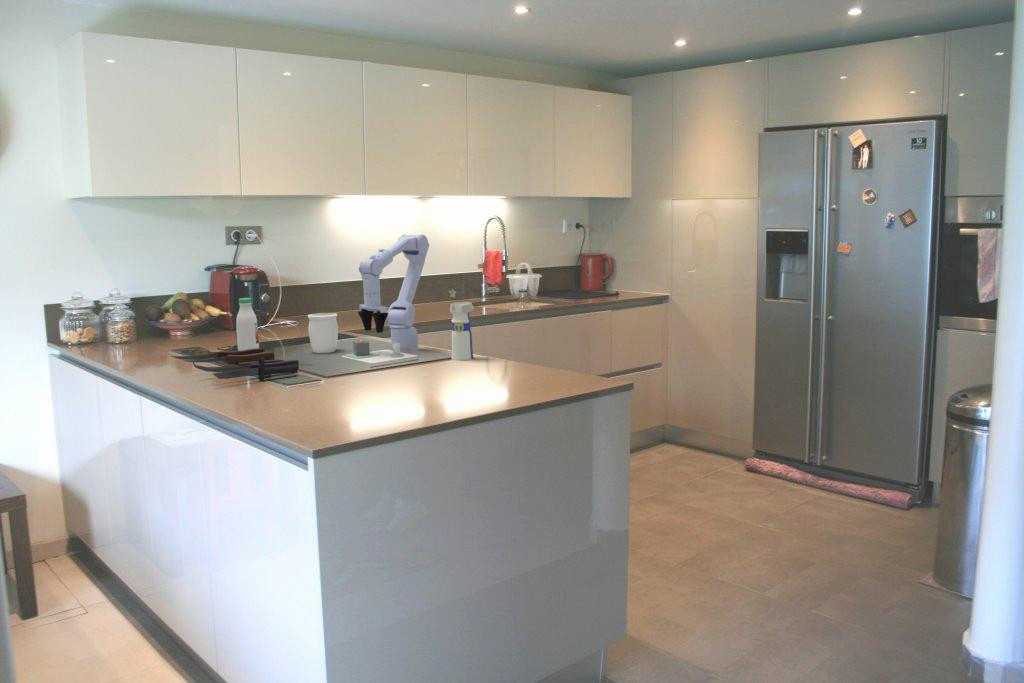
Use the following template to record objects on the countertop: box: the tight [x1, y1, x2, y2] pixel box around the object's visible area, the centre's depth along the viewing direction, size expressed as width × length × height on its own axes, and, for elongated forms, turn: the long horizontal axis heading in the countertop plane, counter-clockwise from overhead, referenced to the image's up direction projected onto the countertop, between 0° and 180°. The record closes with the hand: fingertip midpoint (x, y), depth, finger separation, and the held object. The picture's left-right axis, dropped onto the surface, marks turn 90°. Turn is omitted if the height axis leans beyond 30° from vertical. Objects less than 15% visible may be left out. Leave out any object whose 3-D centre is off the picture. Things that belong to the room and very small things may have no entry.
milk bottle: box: [235, 297, 260, 351], centre depth 315 cm, size 8×8×20 cm
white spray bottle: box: [448, 288, 475, 361], centre depth 289 cm, size 8×9×25 cm
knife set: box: [170, 347, 300, 382], centre depth 271 cm, size 35×33×8 cm
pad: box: [343, 352, 380, 359], centre depth 291 cm, size 9×9×1 cm
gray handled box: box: [352, 339, 371, 356], centre depth 291 cm, size 5×5×5 cm
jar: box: [307, 312, 339, 354], centre depth 302 cm, size 11×10×15 cm
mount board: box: [340, 343, 419, 369], centre depth 290 cm, size 19×20×6 cm
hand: (373, 331), depth 295 cm, fingers open, 7 cm apart
